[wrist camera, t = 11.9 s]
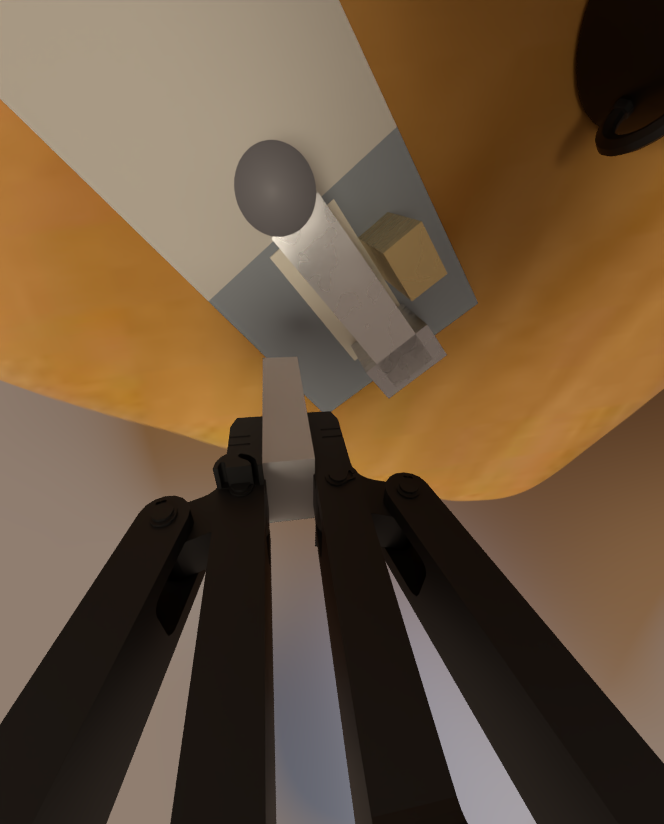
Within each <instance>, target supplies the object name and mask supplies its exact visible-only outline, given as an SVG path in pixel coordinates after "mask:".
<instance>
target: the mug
mask: <svg viewBox="0 0 664 824" xmlns="http://www.w3.org/2000/svg"><path fill="white" fill-rule="evenodd" d="M576 74H577V87H578V91H579V96H580V100H581V103H582V105H583V107H584V110H585V112H586V113H587V115H588V116H589V118H590V119H591V120H592V121H593V122H594V123H595V124H596V125H597V126H599V129H598V131H597V134H596V137H595V143H596V147H597V150H598V152H599V153H600V154H601V155H605V156H617V155H622V154H626V153H630V152H633V151H636V150H638V149H641V148H643V147H645V146H647V145H649V144H651V143H653V142H655V141H657V140H658V139H660V138H662V137H663V136H664V0H590V1H589V3H588V6H587V9H586V12H585V16H584V20H583V24H582V28H581V32H580V37H579V44H578V51H577V66H576ZM618 134H620V135H618ZM621 134H622V135H621Z"/></svg>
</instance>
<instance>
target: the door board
mask: <svg viewBox="0 0 664 824" xmlns="http://www.w3.org/2000/svg"><path fill="white" fill-rule="evenodd" d="M0 99H1V100H2V101H3V102H4V103H5V104H6V105H7V106H8V107H9V108H10V109H11V110H12V111H13V112H14V113H15V114H16V115H17V116H19V117H20V118H21V119H22V120H23V121H24V122H25V123H26V124H27V125H28V126H29V127H30V128H31V129H32V130H33V131H34V132H35V133H36V134H37V135H38V136H39V137H40V138H41V139H42V140H43V141H44V142H45V143H46V144H47V145H48V146H49V147H50V148H51V149H52V150H53V151H55V152H56V153H57V154H58V155H59V156H60V157H61V158H62V159H63V160H64V161H65V162H66V163H67V164H68V165H69V166H70V167H71V168H72V169H73V170H74V171H75V172H76V173H77V174H78V175H79V176H80V177H81V178H82V179H83V180H84V181H85V182H86V183H87V184H88V185H89V186H90V187H92V188H93V189H94V190H95V191H96V192H97V193H98V194H99V195H100V196H101V197H102V198H103V199H104V200H105V201H106V202H107V203H108V204H109V205H110V206H111V207H112V208H113V209H114V210H115V211H116V212H117V213H118V214H119V215H120V216H121V217H122V218H123V219H124V220H125V221H126V222H128V223H129V224H130V225H131V226H132V227H133V228H134V229H135V230H136V231H137V232H138V233H139V234H140V235H141V236H142V237H143V238H144V239H145V240H146V241H147V242H148V243H149V244H150V245H151V246H152V247H153V248H154V249H155V250H156V251H157V252H158V253H159V254H160V255H161V256H162V257H164V258H165V259H166V260H167V261H168V262H169V263H170V264H171V265H172V266H173V267H174V268H175V269H176V270H177V271H178V272H179V273H180V274H181V275H182V276H183V277H184V278H185V279H186V280H187V281H188V282H189V283H190V284H191V285H192V286H193V287H194V288H195V289H196V290H197V291H198V292H200V293H201V294H202V295H203V296H204V297H205V298H206V299H207V300H208V301H209V302H210V303H211V304H212V305H213V306H214V307H215V308H216V309H217V310H218V311H219V312H220V313H221V314H222V315H223V316H224V317H225V318H226V319H227V320H228V321H229V322H230V323H231V324H232V325H233V326H234V327H235V328H237V329H238V330H239V331H240V332H241V333H242V334H243V335H244V336H245V337H246V338H247V339H248V340H249V341H250V342H251V343H252V344H253V345H254V346H255V347H256V348H257V349H258V350H259V351H260V352H261V353H262V354H263V355H264V356H265V357H266V358H276V357H297V359H298V364H299V370H300V376H301V382H302V387H303V393H304V395H305V396H306V397H307V398H309V399H310V400H311V401H312V402H313V403H314V404H315V405H316V406H317V407H318V408H319V409H320V410H321V411H322V412H325V411H330V412H331V411H332V410H334V409H335V408H336V407H338V406H339V405H340V404H342V403H343V402H344V401H346V400H347V399H349V398H350V397H351V396H353V395H354V394H355V393H357V392H358V391H359V390H361V389H362V388H364V387H365V386H366V385H368V384H369V383H370V382H372V381H373V380H372V379H371V378H370V377H369V376H368V374H367V373H366V372H365V370H364V368H363V366H362V365H361V363H360V361H359V359H358V358H357V356H356V354H355V352H354V350H353V349H352V347H351V345H352V344H354V343H355V342H356V341H357V340H356V339H355V338H354V337H353V336H352V334H351V333H350V332H349V331H348V330H347V328H346V327H345V326H344V325H343V324H342V322H341V321H340V320H339V319H338V318H337V316H336V315H335V314H334V313H333V312H332V311H331V309H330V308H329V307H328V306H327V305H326V303H325V302H324V301H323V300H322V299H321V297H320V296H319V295H318V294H317V293H316V291H315V290H314V289H313V288H312V287H311V285H310V284H309V283H308V282H307V281H306V280H305V278H304V277H303V276H302V275H301V274H300V272H299V271H298V270H297V269H296V268H295V266H294V265H293V264H292V263H291V262H290V260H289V259H288V258H287V257H286V256H285V254H284V253H283V252H282V251H281V250H280V249H279V247H278V246H277V245H276V244H275V243H274V241H273V240H272V239H271V236H274V237H284V236H288V235H291V234H294V233H295V232H297V231H299V230H300V229H301V228H302V227H303V226H304V225H305V224H306V223H307V221H308V220H309V218H310V217H311V215H312V212H313V210H314V206H315V201H316V192H318V193H319V194H320V196H321V197H322V199H323V200H324V202H325V203H326V205H327V206H328V207H329V209H330V210H331V212H332V213H333V215H334V216H335V218H336V219H337V220H338V222H339V223H340V225H341V226H342V228H343V229H344V231H345V232H346V234H347V235H348V236H349V238H350V239H351V241H352V242H353V244H354V245H355V247H356V248H357V249H358V251H359V252H360V254H361V255H362V257H363V258H364V260H365V261H366V263H367V264H368V265H369V267H370V268H371V270H372V271H373V273H374V274H375V276H376V277H377V278H378V280H379V281H380V283H381V284H382V286H383V287H384V289H385V290H386V292H387V293H388V294H389V296H390V297H391V299H392V300H393V302H394V303H395V305H396V306H397V307H398V306H400V305H401V304H402V303H403V304H404V305H405V306H406V307H407V308H409V309H410V310H411V311H412V312H413V313H414V314H416V315H417V316H418V317H419V318H420V319H421V320H423V321H424V322H425V323H426V324H427V325H428V327H429V328H430V330H431V331H432V333H433V334H434V335H436V334H437V333H438V332H440V331H441V330H442V329H444V328H445V327H446V326H448V325H449V324H451V323H452V322H453V321H455V320H456V319H457V318H459V317H460V316H461V315H463V314H464V313H465V312H467V311H468V310H470V309H471V308H472V307H474V306H475V305H476V304H478V302H477V300H476V298H475V295H474V293H473V291H472V289H471V287H470V284H469V282H468V280H467V278H466V276H465V274H464V271H463V269H462V267H461V265H460V263H459V261H458V258H457V256H456V254H455V252H454V250H453V247H452V245H451V243H450V241H449V239H448V237H447V234H446V232H445V230H444V228H443V226H442V224H441V221H440V219H439V217H438V215H437V213H436V211H435V208H434V206H433V204H432V202H431V200H430V197H429V195H428V193H427V191H426V189H425V187H424V184H423V182H422V180H421V178H420V176H419V174H418V171H417V169H416V167H415V165H414V163H413V160H412V158H411V156H410V154H409V152H408V150H407V147H406V145H405V143H404V141H403V139H402V137H401V134H400V132H399V130H398V128H397V126H396V123H395V121H394V119H393V117H392V115H391V113H390V110H389V108H388V106H387V104H386V102H385V100H384V97H383V95H382V93H381V91H380V89H379V86H378V84H377V82H376V80H375V78H374V76H373V73H372V71H371V69H370V67H369V65H368V63H367V60H366V58H365V56H364V54H363V52H362V49H361V47H360V45H359V43H358V41H357V39H356V36H355V34H354V32H353V30H352V28H351V26H350V23H349V21H348V19H347V17H346V15H345V12H344V10H343V8H342V6H341V4H340V2H339V0H0ZM387 212H390V213H393V214H397V215H401V216H404V217H408V218H412V219H415V220H419V221H422V223H423V225H424V227H425V229H426V231H427V233H428V235H429V237H430V239H431V241H432V243H433V245H434V247H435V249H436V251H437V253H438V255H439V257H440V259H441V261H442V263H443V265H444V267H445V269H446V271H447V273H448V274H447V275H445V276H444V277H443V278H441V279H440V280H439V281H438V282H436V283H435V284H434V285H432V286H431V287H430V288H429V289H427V290H426V291H425V292H423V293H422V294H421V295H420V296H418V297H417V298H416V299H414V300H413V301H411V300H410V299H408V298H407V297H406V296H405V295H403V294H402V293H401V292H400V291H398V290H397V289H396V288H395V287H393V286H392V285H391V284H390V283H388V282H387V281H386V280H385V279H384V278H383V277H382V275H381V273H380V272H379V270H378V269H377V267H376V265H375V264H374V262H373V261H372V259H371V257H370V256H369V254H368V253H367V251H366V249H365V248H364V246H363V245H362V243H361V242H360V240H359V238H358V237H360V236H361V235H362V234H363V233H364V232H365V231H366V230H368V229H369V228H370V227H371V226H372V225H373V224H375V223H376V222H377V221H378V220H379V219H380V218H382V217H383V216H384V215H385V214H386V213H387Z"/></svg>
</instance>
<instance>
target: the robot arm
mask: <svg viewBox="0 0 664 824" xmlns="http://www.w3.org/2000/svg"><path fill="white" fill-rule="evenodd" d="M213 472H214V476H215V481H216V485H217V489H216V490H214V491H213V492H211V493H210V494H209V495H206V496H204V497H202V498H199V499H196V500H193V501H190V502H187V501H186V500H185V499H183V498H181V497H178V496H165V497H162V498H159V499H156V500H154V501H152V502H151V503H149V504H148V505H146V506H145V508H143V510H142V511H141V512H140V513H139V514H138V516H137V517H136V519H135V520H134V522H133V523H132V525H131V526H130V528H129V529H128V531H127V532H126V534H125V535H124V537H123V538H122V540H121V541H120V543H119V545H118V546H117V548H116V549H115V551H114V552H113V554H112V555H111V557H110V558H109V560H108V561H107V563H106V564H105V566H104V567H103V569H102V570H101V572H100V573H99V575H98V577H97V578H96V579H95V581H94V583H93V584H92V586H91V587H90V589H89V590H88V592H87V593H86V595H85V596H84V598H83V599H82V601H81V602H80V604H79V605H78V607H77V608H76V610H75V611H74V613H73V615H72V616H71V618H70V619H69V621H68V622H67V624H66V625H65V627H64V628H63V630H62V631H61V633H60V634H59V636H58V637H57V639H56V640H55V642H54V643H53V645H52V646H51V648H50V650H49V651H48V652H47V654H46V656H45V657H44V659H43V660H42V662H41V663H40V665H39V666H38V668H37V669H36V671H35V672H34V674H33V675H32V677H31V678H30V680H29V682H28V683H27V684H26V686H25V688H24V689H23V691H22V692H21V694H20V695H19V697H18V698H17V700H16V701H15V703H14V704H13V706H12V707H11V709H10V710H9V712H8V713H7V715H6V717H5V718H4V719H3V721H2V723H1V724H0V824H106V823H107V821H108V818H109V815H110V812H111V810H112V808H113V805H114V803H115V800H116V798H117V795H118V793H119V790H120V788H121V785H122V782H123V780H124V777H125V775H126V772H127V770H128V767H129V764H130V762H131V760H132V757H133V755H134V752H135V749H136V747H137V744H138V742H139V739H140V737H141V734H142V732H143V729H144V727H145V724H146V722H147V719H148V716H149V714H150V711H151V709H152V706H153V704H154V701H155V699H156V696H157V694H158V691H159V689H160V686H161V683H162V681H163V678H164V676H165V673H166V671H167V668H168V666H169V663H170V661H171V658H172V656H173V653H174V651H175V648H176V646H177V643H178V640H179V638H180V635H181V633H182V630H183V628H184V625H185V623H186V620H187V618H188V615H189V613H190V610H191V607H192V605H193V602H194V600H195V597H196V595H197V592H198V590H199V587H200V585H201V582H202V580H203V577H204V574H205V572H206V575H205V582H204V589H203V597H202V604H201V610H200V617H199V618H200V619H199V625H198V632H197V640H196V647H195V653H194V660H193V667H192V675H191V681H190V688H189V696H188V703H187V710H186V717H185V724H184V731H183V738H182V745H181V753H180V759H179V766H178V774H177V781H176V788H175V795H174V802H173V809H172V816H171V823H170V824H276V790H275V789H276V786H275V738H274V737H275V736H274V692H273V691H274V689H273V638H272V593H271V591H272V590H271V589H272V588H271V539H270V530H269V523H272V522H281V521H290V520H299V519H308V518H314V515H315V521H316V532H315V533H316V534H315V536H316V537H315V546H317V547H318V554H319V562H320V569H321V576H322V584H323V591H324V598H325V606H326V612H327V620H328V627H329V635H330V642H331V649H332V656H333V664H334V671H335V678H336V686H337V693H338V700H339V708H340V714H341V722H342V729H343V736H344V744H345V751H346V759H347V766H348V773H349V780H350V788H351V795H352V802H353V810H354V817H355V824H468V823H467V821H466V819H465V817H464V815H463V812H462V810H461V807H460V805H459V802H458V799H457V796H456V792H455V789H454V786H453V783H452V780H451V776H450V773H449V770H448V766H447V763H446V760H445V756H444V753H443V750H442V747H441V743H440V740H439V737H438V733H437V730H436V727H435V723H434V720H433V717H432V714H431V710H430V707H429V704H428V701H427V697H426V694H425V691H424V687H423V684H422V681H421V678H420V674H419V671H418V668H417V664H416V661H415V658H414V654H413V651H412V648H411V645H410V641H409V638H408V635H407V632H406V628H405V625H404V622H403V618H402V615H401V612H400V608H399V605H398V602H397V598H396V595H395V592H394V589H393V585H392V582H391V579H390V575H389V572H388V569H387V566H386V563H387V565H388V566H389V568H390V570H391V572H392V573H393V575H394V577H395V579H396V580H397V582H398V584H399V586H400V587H401V589H402V591H403V592H404V594H405V596H406V598H407V599H408V601H409V603H410V604H411V606H412V608H413V610H414V612H415V613H416V615H417V617H418V618H419V620H420V622H421V624H422V625H423V627H424V629H425V631H426V632H427V634H428V636H429V638H430V639H431V641H432V643H433V644H434V646H435V648H436V649H437V651H438V653H439V655H440V656H441V658H442V660H443V662H444V663H445V665H446V667H447V669H448V670H449V672H450V674H451V676H452V677H453V679H454V681H455V683H456V684H457V686H458V688H459V689H460V691H461V693H462V695H463V697H464V698H465V700H466V702H467V703H468V705H469V707H470V709H471V710H472V712H473V714H474V716H475V717H476V719H477V721H478V722H479V724H480V726H481V728H482V729H483V731H484V733H485V735H486V736H487V738H488V740H489V742H490V743H491V745H492V747H493V748H494V750H495V752H496V754H497V755H498V757H499V759H500V761H501V762H502V764H503V766H504V768H505V769H506V771H507V773H508V775H509V776H510V778H511V780H512V781H513V783H514V785H515V787H516V788H517V790H518V792H519V794H520V795H521V797H522V799H523V801H524V802H525V804H526V806H527V808H528V809H529V811H530V813H531V814H532V816H533V818H534V820H535V821H536V823H537V824H664V763H663V762H662V761H661V760H660V759H659V757H658V756H657V755H656V754H655V753H654V751H653V750H652V749H651V748H650V747H649V746H648V744H647V743H646V742H645V741H644V740H643V739H642V737H641V736H640V735H639V734H638V733H637V731H636V730H635V729H634V728H633V727H632V725H631V724H630V723H629V722H628V721H627V720H626V718H625V717H624V716H623V715H622V714H621V713H620V711H619V710H618V709H617V708H616V707H615V705H614V704H613V703H612V702H611V701H610V699H609V698H608V697H607V696H606V695H605V694H604V693H603V691H602V690H601V689H600V688H599V686H598V685H597V684H596V683H595V682H594V681H593V679H592V678H591V677H590V676H589V675H588V673H587V672H586V671H585V670H584V669H583V667H582V666H581V665H580V664H579V663H578V662H577V661H576V659H575V658H574V657H573V656H572V654H571V653H570V652H569V651H568V650H567V649H566V647H565V646H564V645H563V644H562V643H561V642H560V641H559V639H558V638H557V637H556V636H555V634H554V633H553V632H552V631H551V630H550V628H549V627H548V626H547V625H546V624H545V623H544V621H543V620H542V619H541V618H540V617H539V615H538V614H537V613H536V612H535V611H534V610H533V608H532V607H531V606H530V605H529V604H528V602H527V601H526V600H525V599H524V598H523V596H522V595H521V594H520V593H519V592H518V591H517V589H516V588H515V587H514V586H513V585H512V583H510V581H509V580H508V579H507V578H506V576H505V575H504V574H503V573H502V572H501V571H500V569H499V568H498V567H497V566H496V565H495V563H494V562H493V561H492V560H491V559H490V557H489V556H488V555H487V554H486V553H485V552H484V550H483V549H482V548H481V547H480V546H479V544H478V543H477V542H476V541H475V540H474V539H473V537H472V536H471V535H470V534H469V533H468V531H467V530H466V529H465V528H464V527H463V526H462V524H461V523H460V522H459V521H458V520H457V518H456V517H455V516H454V515H453V514H452V512H451V511H450V510H449V509H448V508H447V507H446V505H445V504H444V503H443V502H442V501H441V499H440V498H439V497H438V496H437V495H436V494H435V492H434V491H433V490H432V489H431V488H430V486H429V485H428V484H427V483H426V482H425V481H424V480H423V479H421V478H420V477H418V476H416V475H414V474H410V473H396V474H394V475H392V476H390V477H389V479H388V480H387V481H386V482H384V481H378V480H372V479H368V478H366V477H363V476H361V475H360V474H358V473H357V471H356V470H355V469H354V468H353V467H352V465H351V463H350V459H349V456H348V453H347V449H346V446H345V442H344V439H343V437H342V432H341V430H340V425H339V422H338V419H337V418H336V417H335V416H334V415H333V414H332V413H331V412H330V411H325V412H310V413H307V410H306V404H305V399H304V393H303V387H302V382H301V376H300V370H299V364H298V359H297V357H276V358H263V416H261V417H246V418H237V419H236V420H235V422H234V423H233V424H232V426H231V427H230V434H229V442H228V450H227V454H226V455H224V456H222V457H221V458H220V459H219V460H217V462H216V463H215V465H214V467H213ZM385 561H386V562H385Z"/></svg>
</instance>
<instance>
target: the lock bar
mask: <svg viewBox="0 0 664 824" xmlns="http://www.w3.org/2000/svg"><path fill="white" fill-rule="evenodd" d="M271 239H272V240H273V241H274V243H275V244H276V245H277V246H278V247H279V249H280V250H281V251H282V252H283V253H284V254H285V256H286V257H287V258H288V259H289V260H290V262H291V263H292V264H293V265H294V266H295V268H296V269H297V270H298V271H299V272H300V274H301V275H302V276H303V277H304V278H305V280H306V281H307V282H308V283H309V284H310V285H311V287H312V288H313V289H314V290H315V291H316V293H317V294H318V295H319V296H320V297H321V299H322V300H323V301H324V302H325V303H326V305H327V306H328V307H329V308H330V309H331V311H332V312H333V313H334V314H335V315H336V316H337V318H338V319H339V320H340V321H341V322H342V324H343V325H344V326H345V327H346V328H347V330H348V331H349V332H350V333H351V334H352V336H353V337H354V338H355V339H356V340H357V341H356V342H355V343H354V344H352V345H351V347H352V349H353V350H354V352H355V354H356V356H357V358H358V359H359V361H360V363H361V365H362V366H363V368H364V370H365V372H366V373H367V374H368V376H369V377H370V378H371V379H372V380H373V381H374V382H375V383H376V385H377V386H378V387H379V388H380V389H381V390H382V391H383V392H384V394H385V395H386V396H387V397H388V398H390V397H391V396H393V395H394V394H395V393H397V392H398V391H399V390H401V389H402V388H403V387H405V386H406V385H407V384H409V383H410V382H411V381H413V380H414V379H415V378H417V377H418V376H419V375H421V374H422V373H423V372H425V371H426V370H427V369H429V368H430V367H431V366H433V365H434V364H435V363H437V362H438V361H439V360H441V359H442V358H443V357H445V356H446V355H447V354H446V353H445V351H444V350H443V348H442V347H441V345H440V343H439V342H438V340H437V339H436V337H435V336H434V334H433V333H432V331H431V330H430V328H429V327H428V325H427V324H426V323H425V322H424V321H423V320H421V319H420V318H419V317H418V316H417V315H416V314H414V313H413V312H412V311H411V310H410V309H409V308H407V307H406V306H405V305H404V304H403V303H402V304H401V305H400V306H398V307H397V306H396V305H395V303H394V302H393V300H392V299H391V297H390V296H389V294H388V293H387V292H386V290H385V289H384V287H383V286H382V284H381V283H380V281H379V280H378V278H377V277H376V276H375V274H374V273H373V271H372V270H371V268H370V267H369V265H368V264H367V263H366V261H365V260H364V258H363V257H362V255H361V254H360V252H359V251H358V249H357V248H356V247H355V245H354V244H353V242H352V241H351V239H350V238H349V236H348V235H347V234H346V232H345V231H344V229H343V228H342V226H341V225H340V223H339V222H338V220H337V219H336V218H335V216H334V215H333V213H332V212H331V210H330V209H329V207H328V206H327V205H326V203H325V202H324V200H323V199H322V197H321V196H320V194H319V193H318V192H316V201H315V206H314V210H313V212H312V215H311V217H310V218H309V220H308V221H307V223H306V224H305V225H304V226H303V227H302V228H301V229H300V230H299V231H297V232H295V233H294V234H291V235H288V236H284V237H274V236H271Z"/></svg>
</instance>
